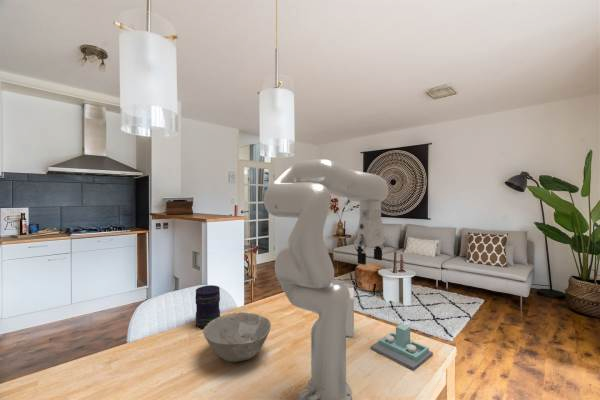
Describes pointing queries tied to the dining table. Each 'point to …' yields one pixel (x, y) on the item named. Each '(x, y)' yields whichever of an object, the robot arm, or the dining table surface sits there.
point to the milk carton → (350, 313)
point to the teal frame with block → (404, 343)
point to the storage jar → (207, 305)
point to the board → (398, 357)
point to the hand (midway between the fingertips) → (370, 261)
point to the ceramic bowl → (237, 335)
